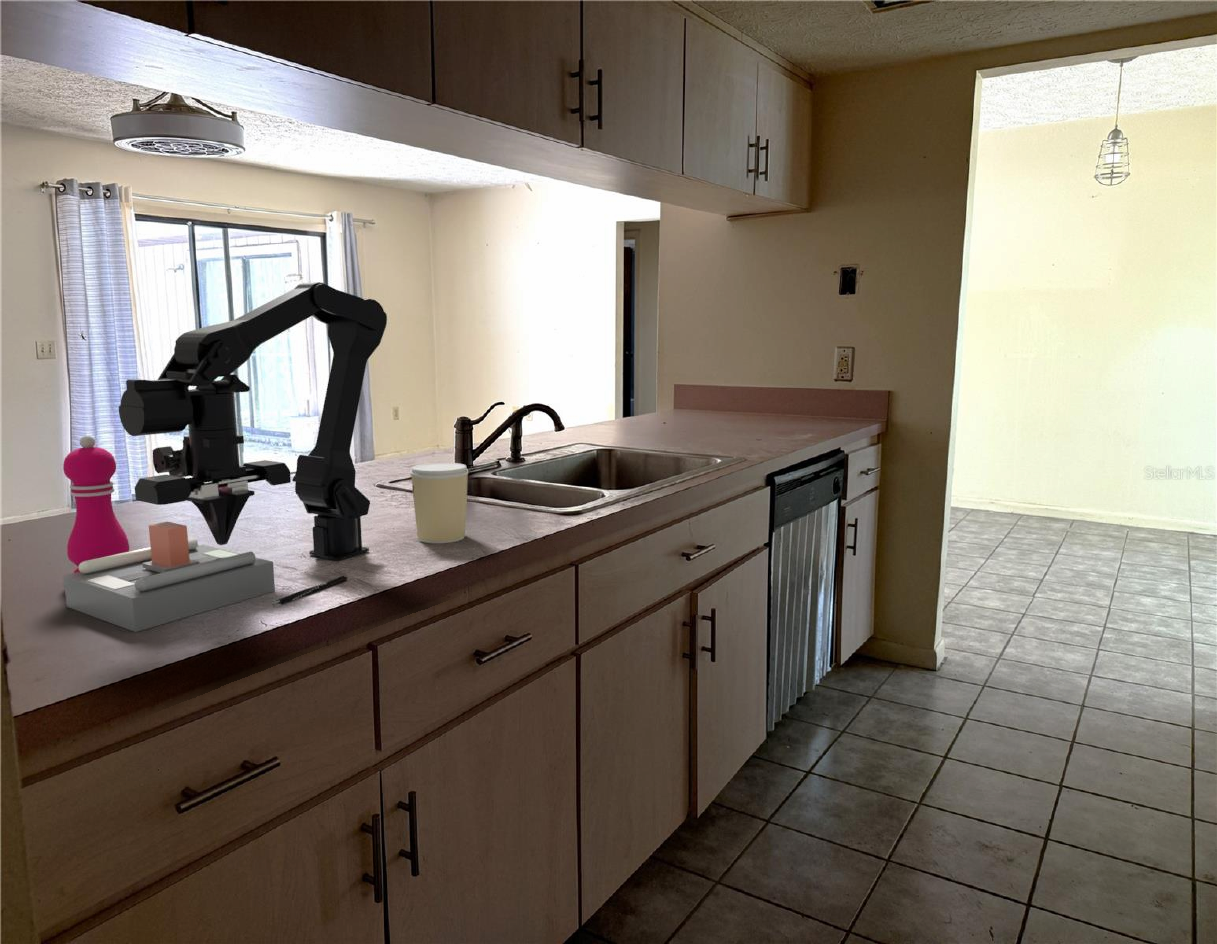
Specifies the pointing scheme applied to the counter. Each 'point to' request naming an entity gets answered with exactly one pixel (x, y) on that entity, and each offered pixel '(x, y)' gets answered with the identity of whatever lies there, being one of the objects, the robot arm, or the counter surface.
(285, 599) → the black thin rod
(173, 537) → the lever
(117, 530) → the pepper mill
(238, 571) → the box
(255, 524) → the counter surface
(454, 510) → the coffee cup
